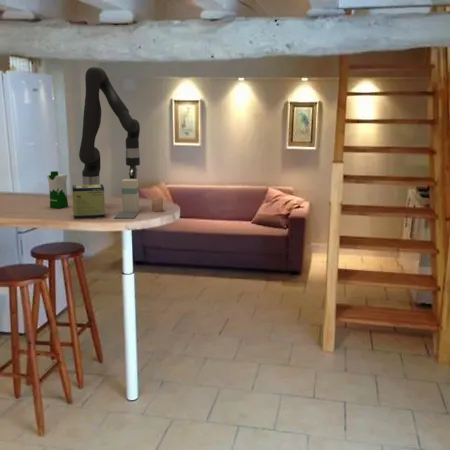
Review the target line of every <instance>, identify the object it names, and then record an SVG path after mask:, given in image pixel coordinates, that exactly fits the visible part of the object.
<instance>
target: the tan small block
mask: <svg viewBox="0 0 450 450" xmlns="http://www.w3.org/2000/svg"><path fill="white" fill-rule="evenodd" d="M151 211H152V212H154V213H161V212H164V197H160V196H155V197H151Z"/></svg>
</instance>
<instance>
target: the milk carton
mask: <svg viewBox="0 0 450 450" xmlns="http://www.w3.org/2000/svg"><path fill="white" fill-rule="evenodd" d="M46 178H47V181H48V189H49V208H51V209H64V208H68V207H69V202H68V192H67V191H68V190H67V189H68V188H67V179H68V174H63V173H62V174H61V173H59V171H58V170H56V171H55V170H53V171H50V174H47V175H46Z"/></svg>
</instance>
